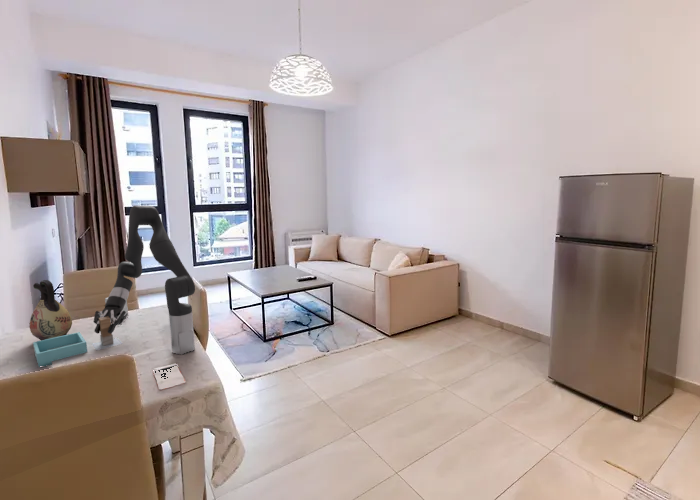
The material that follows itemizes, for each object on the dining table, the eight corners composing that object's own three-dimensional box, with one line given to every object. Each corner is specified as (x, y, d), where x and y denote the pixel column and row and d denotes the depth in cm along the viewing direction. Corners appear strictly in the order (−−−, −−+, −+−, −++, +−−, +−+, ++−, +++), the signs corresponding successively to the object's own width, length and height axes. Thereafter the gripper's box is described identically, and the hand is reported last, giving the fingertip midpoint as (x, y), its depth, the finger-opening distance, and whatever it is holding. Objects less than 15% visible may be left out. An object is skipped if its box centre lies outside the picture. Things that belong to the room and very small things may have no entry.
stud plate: (123, 346, 160) (122, 336, 160) (96, 353, 153) (95, 342, 153) (117, 340, 167) (116, 330, 166) (92, 346, 160) (90, 336, 159)
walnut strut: (113, 343, 160) (110, 318, 158) (103, 346, 157) (100, 320, 155) (111, 340, 163) (108, 316, 161) (101, 343, 160) (98, 318, 158)
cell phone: (159, 391, 124) (159, 389, 124) (152, 371, 139) (152, 369, 139) (186, 384, 130) (186, 381, 129) (176, 365, 144) (176, 362, 144)
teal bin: (87, 355, 152) (86, 342, 151) (38, 368, 141) (36, 353, 140) (81, 344, 163) (79, 331, 162) (35, 355, 152) (33, 342, 151)
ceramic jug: (25, 342, 165) (16, 280, 160) (64, 331, 178) (56, 273, 174) (43, 349, 157) (33, 284, 152) (82, 337, 171) (74, 277, 166)
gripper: (97, 295, 164) (81, 329, 154) (128, 295, 164) (114, 329, 154) (106, 302, 170) (91, 336, 160) (136, 302, 170) (123, 336, 160)
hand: (103, 332), depth 157 cm, fingers closed on walnut strut, 5 cm apart
